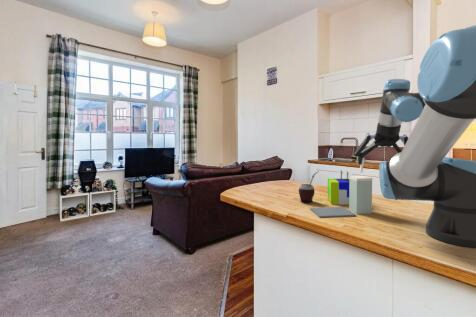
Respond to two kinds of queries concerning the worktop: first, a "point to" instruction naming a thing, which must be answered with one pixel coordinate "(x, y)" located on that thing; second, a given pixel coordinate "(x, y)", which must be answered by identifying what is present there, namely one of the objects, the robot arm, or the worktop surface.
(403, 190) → the robot arm
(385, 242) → the worktop surface
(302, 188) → the mate gourd
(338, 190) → the puzzle toy
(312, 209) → the rubber mat
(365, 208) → the sage block
